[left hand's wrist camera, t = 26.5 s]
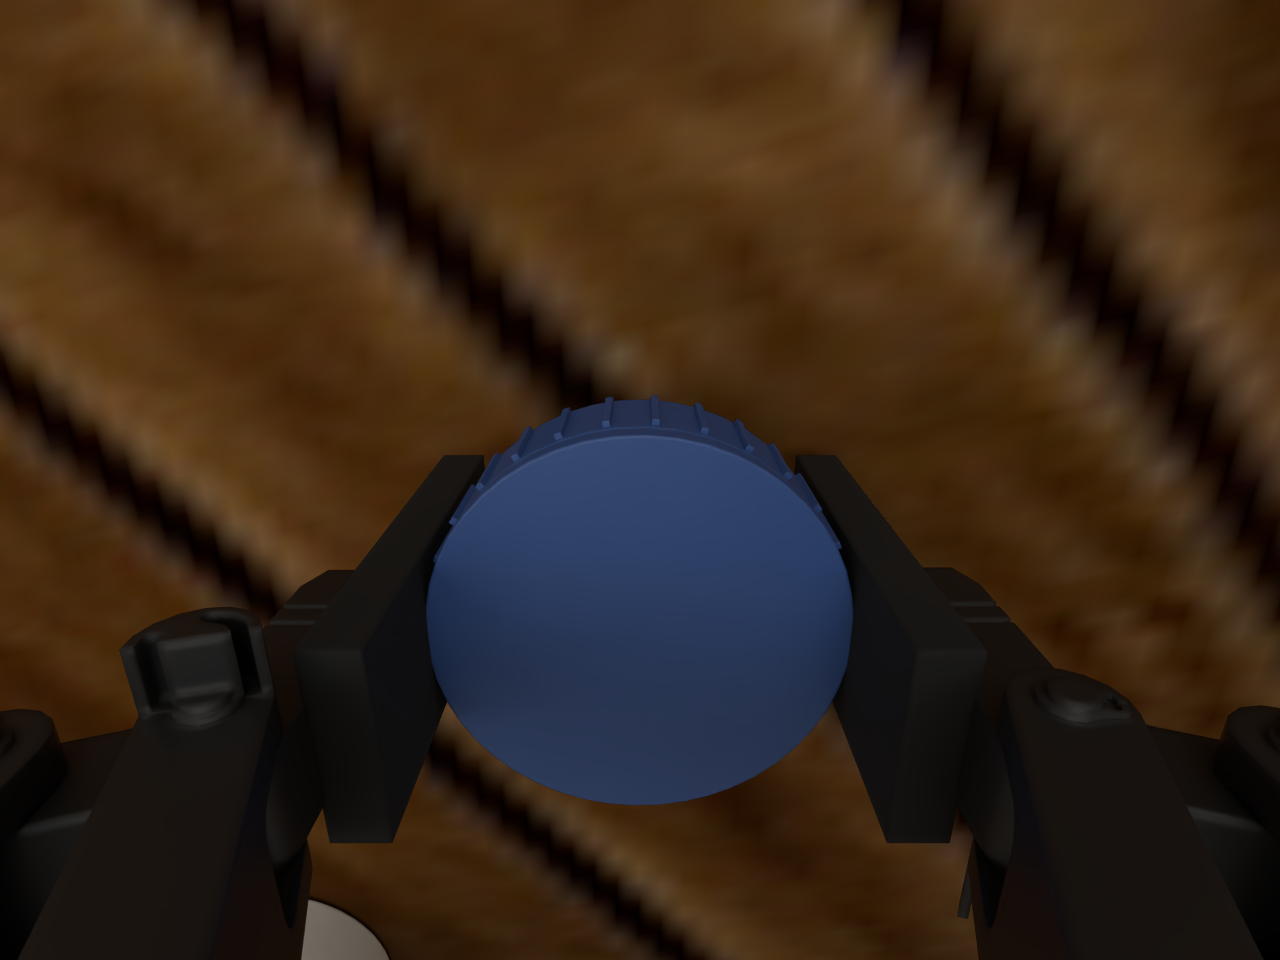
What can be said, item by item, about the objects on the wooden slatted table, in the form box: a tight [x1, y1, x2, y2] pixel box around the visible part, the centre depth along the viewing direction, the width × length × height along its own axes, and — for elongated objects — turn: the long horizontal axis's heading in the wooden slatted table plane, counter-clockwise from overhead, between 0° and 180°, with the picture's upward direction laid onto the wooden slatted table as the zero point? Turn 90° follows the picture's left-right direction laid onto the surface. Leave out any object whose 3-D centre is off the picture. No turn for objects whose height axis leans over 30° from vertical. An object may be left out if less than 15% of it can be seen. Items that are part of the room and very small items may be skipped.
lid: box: [426, 395, 853, 805], centre depth 11 cm, size 6×6×2 cm
